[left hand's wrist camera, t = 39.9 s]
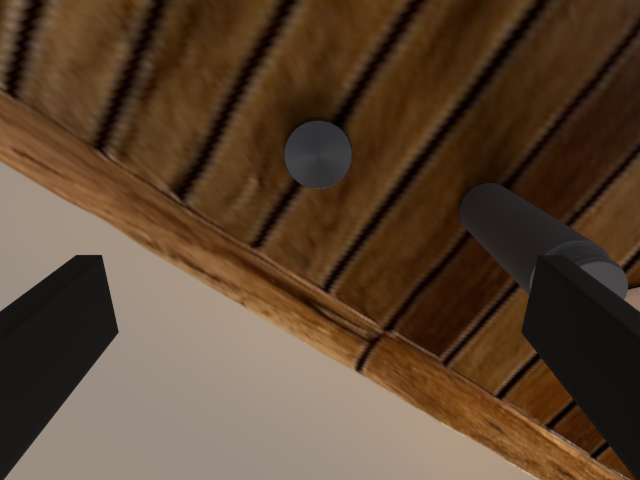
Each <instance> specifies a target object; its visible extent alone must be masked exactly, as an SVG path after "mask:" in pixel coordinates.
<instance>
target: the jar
mask: <svg viewBox="0 0 640 480" xmlns="http://www.w3.org/2000/svg"><path fill="white" fill-rule="evenodd" d="M459 217H460V220H461V222H462V224H463V226H464V227H465V228H466V229H467V230H468V231H469V232H470V233H471V234H472V235H473V236H474V237H475V238H476V239H477V241H478V242H479V243H480V244H481V245H482V246H483V247H484V248H485V249H486V250H487V251H488V252H489V253H490V254H491V255H492V256H493V257H494V258H495V260H496V261H497V262H498V263H499V264H500V265H501V266H502V267H503V268H504V269H505V270H506V271H507V272H508V273H509V274H510V275H511V276H512V277H513V279H514V280H515V281H516V282H517V283H518V284H519V285H520V286H521V287H522V288H523V289H524V290H525V291H526V292H527V293H528V294H529V295H530V290H531V286H532V281H533V277H534V272H535V267H536V263H537V258H538V255H564V256H566V257H567V258H568V259H570V260H571V261H572V262H574V263H575V264H576V265H578V266H579V267H580V268H582V269H583V270H584V271H586V272H587V273H588V274H590V275H591V276H592V277H594V278H595V279H597V280H598V281H599V282H601V283H602V284H603V285H605V286H606V287H607V288H609V289H610V290H611V291H613V292H614V293H615V294H617V295H618V296H619V297H621V298H622V299H623V300H625V297H626V295H627V291H628V281H627V277H626V275H625V273H624V272H623V270H622V268H621V267H620V266H619V264H617V263H616V262H614V261H612V260H611V259H610V257H609V255H608V254H607V252H606V251H605V250H604V249H603V248H602V247H600V246H599V245H597V244H596V243H594V242H593V241H591V240H589V239H588V238H586V237H584V236H583V235H581V234H580V233H578V232H576V231H575V230H573V229H571V228H570V227H568V226H567V225H565V224H563V223H562V222H560V221H558V220H557V219H555V218H553V217H552V216H550V215H549V214H547V213H545V212H544V211H542V210H540V209H539V208H537V207H536V206H534V205H532V204H531V203H529V202H527V201H526V200H524V199H523V198H521V197H519V196H518V195H516V194H514V193H513V192H511V191H509V190H508V189H506V188H505V187H503V186H501V185H499V184H495V183H485V184H481V185H478V186H476V187H474V188H473V189H471V190H470V191H469V192H468V193H467V194H466V195H465V196H464V198H463V199H462V201H461V204H460V208H459Z"/></svg>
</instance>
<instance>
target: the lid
mask: <svg viewBox="0 0 640 480" xmlns="http://www.w3.org/2000/svg"><path fill="white" fill-rule="evenodd" d="M287 139H288V140H287V142H286V145H285V148H284V159H285V164H286V167H287V169H288V171H289V173H290V174H291V176H292V177H293V178H294V179H295V180H296V181H297V182H299V183H300V184H302V185H304V186H306V187H309V188H314V189H321V188H327V187H330V186H332V185H334V184H336V183H338V182H339V181H340V180H341V179H342V178H343V177H344V176H345V175H346V173H347V172H348V170H349V167H350V165H351V160H352V146H351V144H350V142H349V140H348V135H347V133H346V134H345V132H344V131H343V129H342V128H341V127H340V125H337V124H336V123H334V122H333V121H331V120H330V119H324V118H318V117H317V118H312V119H308V120H305V121H304V122H302V123H300V124H299V125H298V126H295V128H294V130H293V131H292V132H291V134H290V135H289V136H288V138H287Z"/></svg>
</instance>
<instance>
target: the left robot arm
mask: <svg viewBox="0 0 640 480" xmlns="http://www.w3.org/2000/svg"><path fill="white" fill-rule="evenodd" d="M521 333H522V334H523V335H524V336H525V338H526V339H527V340H528V342H529V343H530V344H531V345H532V347H533V348H534V349H535V350H536V352H537V353H538V354H539V356H540V357H541V358H542V359H543V361H544V362H545V363H546V365H547V366H548V367H549V368H550V370H551V371H552V372H553V374H554V375H555V376H556V377H557V379H558V380H559V381H560V383H561V384H562V385H563V386H564V388H565V389H566V390H567V392H568V393H569V394H570V395H571V397H572V398H573V399H574V400H575V402H576V403H577V404H578V406H579V407H580V408H581V409H582V411H583V412H584V413H585V415H586V416H587V417H588V418H589V420H590V421H591V422H592V424H593V425H594V426H595V427H596V429H597V430H598V431H599V433H600V434H601V435H602V436H603V438H604V439H605V440H606V442H607V443H608V444H609V445H610V447H611V448H612V449H613V450H614V452H615V453H616V454H617V456H618V457H619V458H620V459H621V461H622V462H623V463H624V465H625V466H626V467H627V468H628V470H629V471H630V472H631V474H632V475H633V476H634V477H635V479H636V480H640V311H638V310H637V309H636V308H634V307H633V306H632V305H630V304H629V303H628V302H626V301H625V300H623V299H622V298H621V297H619V296H618V295H617V294H615V293H614V292H613V291H611V290H610V289H609V288H607V287H606V286H605V285H603V284H602V283H601V282H599V281H598V280H597V279H595V278H594V277H592V276H591V275H590V274H588V273H587V272H586V271H584V270H583V269H582V268H580V267H579V266H578V265H576V264H575V263H574V262H572V261H571V260H570V259H568V258H567V257H566V256H564V255H538V258H537V263H536V267H535V272H534V277H533V281H532V286H531V290H530V295H529V300H528V304H527V309H526V313H525V318H524V323H523V327H522V332H521ZM117 334H118V327H117V323H116V318H115V314H114V309H113V304H112V300H111V295H110V290H109V286H108V281H107V277H106V272H105V268H104V263H103V259H102V255H76V256H75V257H73V258H72V259H70V260H69V261H68V262H66V263H65V264H64V265H62V266H61V267H60V268H58V269H57V270H56V271H54V272H53V273H52V274H50V275H49V276H48V277H46V278H45V279H44V280H42V281H41V282H40V283H38V284H37V285H35V286H34V287H33V288H31V289H30V290H29V291H27V292H26V293H25V294H23V295H22V296H21V297H19V298H18V299H17V300H15V301H14V302H12V303H11V304H10V305H8V306H7V307H6V308H4V309H3V310H2V311H0V480H4V479H5V477H6V476H7V475H8V473H9V472H10V471H11V470H12V468H13V467H14V466H15V465H16V463H17V462H18V461H19V459H20V458H21V457H22V456H23V454H24V453H25V452H26V450H27V449H28V448H29V447H30V445H31V444H32V443H33V442H34V440H35V439H36V438H37V436H38V435H39V434H40V433H41V431H42V430H43V429H44V427H45V426H46V425H47V424H48V422H49V421H50V420H51V418H52V417H53V416H54V415H55V413H56V412H57V411H58V409H59V408H60V407H61V406H62V404H63V403H64V402H65V400H66V399H67V398H68V397H69V395H70V394H71V393H72V391H73V390H74V389H75V388H76V386H77V385H78V384H79V383H80V381H81V380H82V379H83V377H84V376H85V375H86V374H87V372H88V371H89V370H90V368H91V367H92V366H93V365H94V363H95V362H96V361H97V359H98V358H99V357H100V356H101V354H102V353H103V352H104V350H105V349H106V348H107V347H108V345H109V344H110V343H111V342H112V340H113V339H114V338H115V336H116V335H117Z"/></svg>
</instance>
